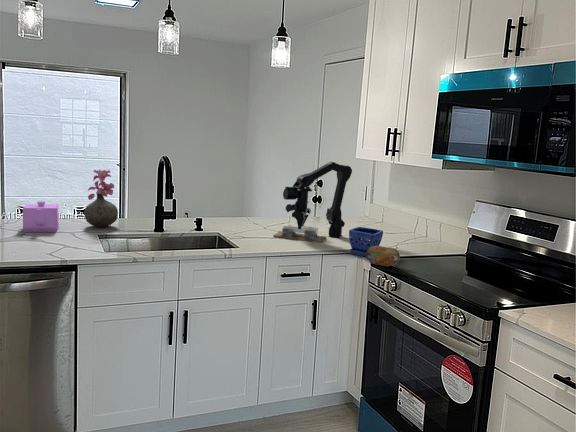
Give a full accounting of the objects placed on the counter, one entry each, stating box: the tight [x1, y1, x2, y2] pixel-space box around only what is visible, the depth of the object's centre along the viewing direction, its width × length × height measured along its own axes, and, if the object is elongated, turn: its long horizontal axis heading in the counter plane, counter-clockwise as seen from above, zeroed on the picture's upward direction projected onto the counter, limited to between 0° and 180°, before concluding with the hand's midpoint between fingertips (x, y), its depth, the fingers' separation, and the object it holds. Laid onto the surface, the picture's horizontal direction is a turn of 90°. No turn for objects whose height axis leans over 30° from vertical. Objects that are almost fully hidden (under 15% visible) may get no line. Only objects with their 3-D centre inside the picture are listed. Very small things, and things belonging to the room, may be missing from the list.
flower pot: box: [348, 226, 384, 257], centre depth 258 cm, size 13×13×12 cm
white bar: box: [282, 223, 319, 235], centre depth 287 cm, size 18×4×3 cm, turn 76°
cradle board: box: [272, 228, 327, 243], centre depth 288 cm, size 26×12×5 cm, turn 76°
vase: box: [84, 169, 119, 229], centre depth 281 cm, size 17×17×30 cm
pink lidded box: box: [22, 200, 60, 233], centre depth 267 cm, size 15×25×14 cm, turn 20°
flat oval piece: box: [365, 245, 401, 268], centre depth 240 cm, size 15×3×8 cm, turn 62°
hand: (300, 228), depth 287 cm, fingers closed on white bar, 4 cm apart
